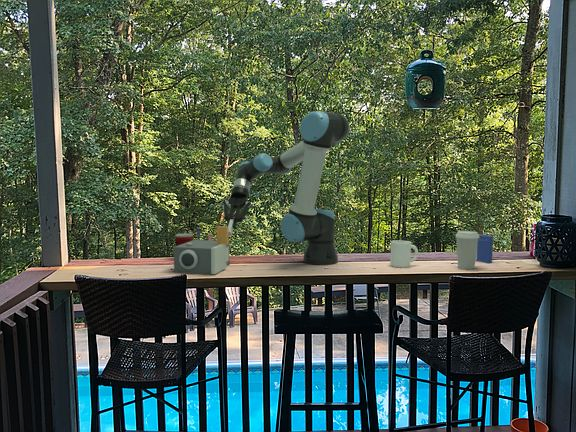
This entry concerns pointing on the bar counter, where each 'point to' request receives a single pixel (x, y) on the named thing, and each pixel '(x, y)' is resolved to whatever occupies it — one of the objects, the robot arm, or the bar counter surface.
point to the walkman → (484, 249)
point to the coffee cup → (466, 249)
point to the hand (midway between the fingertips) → (229, 233)
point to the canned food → (183, 238)
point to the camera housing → (195, 256)
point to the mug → (402, 253)
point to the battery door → (219, 250)
